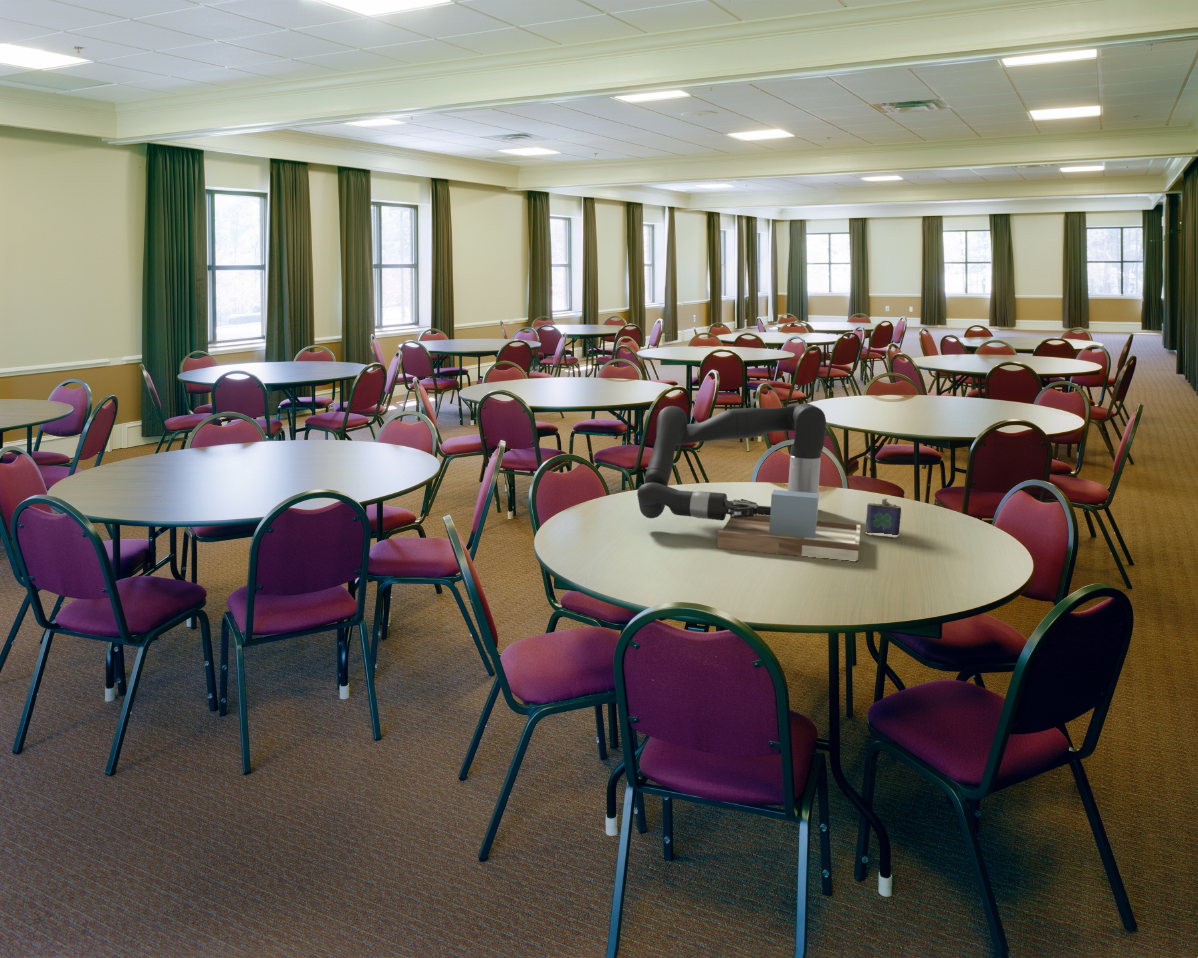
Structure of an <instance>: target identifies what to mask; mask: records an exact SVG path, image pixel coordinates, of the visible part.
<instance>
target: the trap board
mask: <svg viewBox="0 0 1198 958" xmlns="http://www.w3.org/2000/svg"><path fill="white" fill-rule="evenodd" d="M769 527H770V516H768V515H754V516H753V517H741V518H734V516H731V515H729V519H728V520H727V522H726V524H725V525H724V526H723V528H722V529H721V530H717V531H718V532H717V546H716V548H717V547H718V549H719V548H720V549H726V548H728V549H727V550H735V549H736V551H745V550H746V552H756V553H764V552H767V553H766V554H774V553H776V554H777V555H783V554H789V555H788V556H793V555H797V556H796V557H802V556H808V557H807V558H812V557H816V558H815V559H822V558H832V559H844V560H859V551H860V550H859V548H860V537H861V523H854V522H853V523H850V522H841V521H830V520H819V519H817V527H816V535H815V538H805V537H795V536H785V535H774V534H769ZM776 554H775V555H776Z"/></svg>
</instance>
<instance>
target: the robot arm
mask: <svg viewBox="0 0 1198 958" xmlns="http://www.w3.org/2000/svg"><path fill="white" fill-rule="evenodd" d="M826 420H827V419H826V415H825V413H824V411H823V410H822V409H821V408H819V407H818V406H816V405H813V404H810V403H800V404H794V405H788V406H783V407H772V408H771V407H766V408H765V407H748V408H747V407H745V408H741V407H740V408H731V409H730V408H729V409H726V410H723V411H721V412H719V413H717V414H715V415H714V416H712V417H710V418H708V419H706V420H703V421H701V422H696V423H689V424H688V417H687V413H686V412H685V411H684V409H682V408H681V407H678V406H675V405H669V406H665V407H663V408H662V409H661V410H660V411H659V413H658V415H657V418H656V438H655V440H654V445H653V448H652V451H651V452H652V453H651V456H650V459H649V462H648V465H647V468H646V472H645V476H644V483H643V484H642V485H640V486H639V487H638V489H637V500H638V506H639V510H640V513H641V514H642V516H644V517H645V518H647V519H656V518H658V517H660V516H661V515H662V513H664V511H665V506H666V507H668V508H669V510H670V512H671V513H672V514H673V515H675V516H681V517H693V518H697V519H705V520H715V521H724V520H725V519H726V516H727V515H729V516H730V515H731V516H734V518H741V517H753V516H754V515H766V516H770V512H771V505H770V506H769V505H768V506H767V505H759V504H758V503H757V502H754V501H752V500H751V501H750V500H747V499H744V498H740V499H736V498H735V499H733V500H728V495H727V494H726V493H725V492H724V493H722V492H713V491H704V490H703V491H693V490H691V491H690V490H680V489H676V488H673V487H670V486H668V485H669V482H670V477H671V475H672V471H673V465H674V458H675V451H676V446H682V445H683V446H684V445H690V444H695V443H700V442H708V441H709V442H710V441H721V440H737V439H738V440H740V439H750V438H757V437H760V436H763V435H765V434H770V433H774V432H794V441H793V444H792V446H791V447H790V455H789V458H790V459H789V471H788V474H789V475H788V487H787V488H788V489H787V491H796V492H808V493H819V485H820V475H821V474H820V473H821V458H822V451H823V449H824V446H825V437H826V427H827V421H826Z"/></svg>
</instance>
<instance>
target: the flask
mask: <svg viewBox="0 0 1198 958" xmlns="http://www.w3.org/2000/svg"><path fill="white" fill-rule="evenodd" d="M866 505H867V506H866V507H867V509H866V519H865V528H864V529H865V530H864V533H865V532H867V533H884V534H892V535H898V534H899V535H900V529H901V527H900V525H901V517H902V514H901V513H902V507H901V506H900V505H896V504H895V503H890V502H888V498H883V499H882V500H881V503H871V502H868V503H867V504H866Z"/></svg>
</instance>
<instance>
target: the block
mask: <svg viewBox="0 0 1198 958" xmlns="http://www.w3.org/2000/svg"><path fill="white" fill-rule="evenodd" d="M819 497H820V493H819V492H818V493H808V492H796V491H788V490H783V489H782V490H781V489H773V491H772V493H771V497H770V507H771V512H770V527H769V534H774V535H785V536H795V537H805V538H815V535H816V527H817V520H818V512H819V511H818V510H819Z"/></svg>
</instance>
